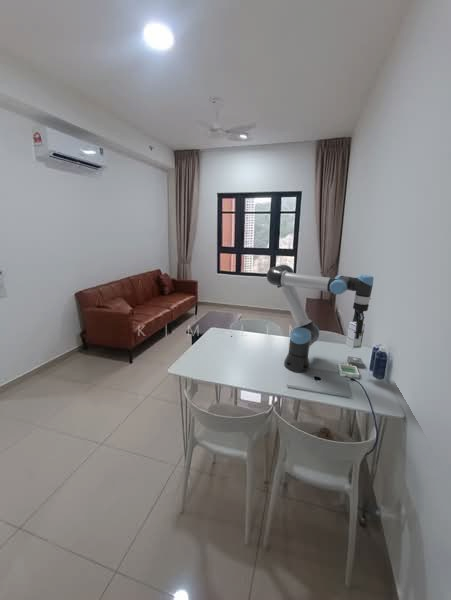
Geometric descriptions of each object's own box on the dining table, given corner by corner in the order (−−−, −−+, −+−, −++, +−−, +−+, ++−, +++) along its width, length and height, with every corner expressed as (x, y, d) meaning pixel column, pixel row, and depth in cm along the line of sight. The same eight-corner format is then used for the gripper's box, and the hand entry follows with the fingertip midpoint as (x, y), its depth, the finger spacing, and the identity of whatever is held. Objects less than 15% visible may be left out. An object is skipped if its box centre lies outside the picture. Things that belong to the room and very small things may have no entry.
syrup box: (352, 349, 154) (357, 325, 150) (345, 344, 159) (349, 321, 155) (360, 348, 155) (365, 324, 151) (353, 343, 161) (358, 321, 157)
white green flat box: (339, 376, 157) (340, 371, 157) (337, 365, 170) (337, 361, 169) (359, 379, 155) (360, 375, 154) (354, 368, 167) (355, 364, 167)
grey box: (350, 370, 165) (351, 364, 164) (347, 360, 177) (347, 355, 176) (364, 372, 163) (365, 367, 162) (360, 362, 175) (361, 357, 174)
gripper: (373, 308, 140) (364, 349, 146) (364, 299, 158) (357, 335, 165) (357, 306, 141) (350, 346, 148) (351, 297, 160) (344, 333, 166)
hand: (354, 340), depth 156 cm, fingers closed on syrup box, 7 cm apart
